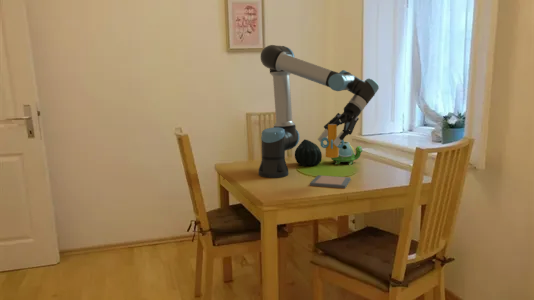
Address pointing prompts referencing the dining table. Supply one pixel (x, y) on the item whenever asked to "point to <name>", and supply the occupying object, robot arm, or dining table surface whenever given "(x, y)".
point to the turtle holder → (347, 153)
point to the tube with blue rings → (331, 142)
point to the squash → (308, 153)
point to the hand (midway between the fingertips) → (327, 142)
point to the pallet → (330, 181)
